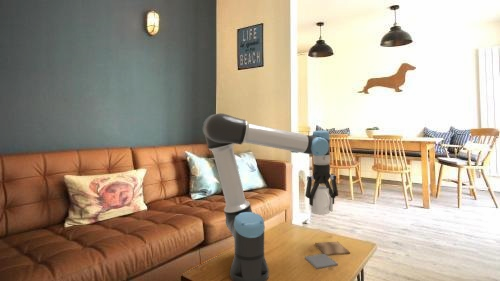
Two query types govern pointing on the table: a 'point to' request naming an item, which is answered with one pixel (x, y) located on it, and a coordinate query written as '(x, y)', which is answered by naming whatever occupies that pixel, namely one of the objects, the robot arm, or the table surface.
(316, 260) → the slate coaster
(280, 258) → the table surface
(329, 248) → the walnut coaster
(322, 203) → the mug
